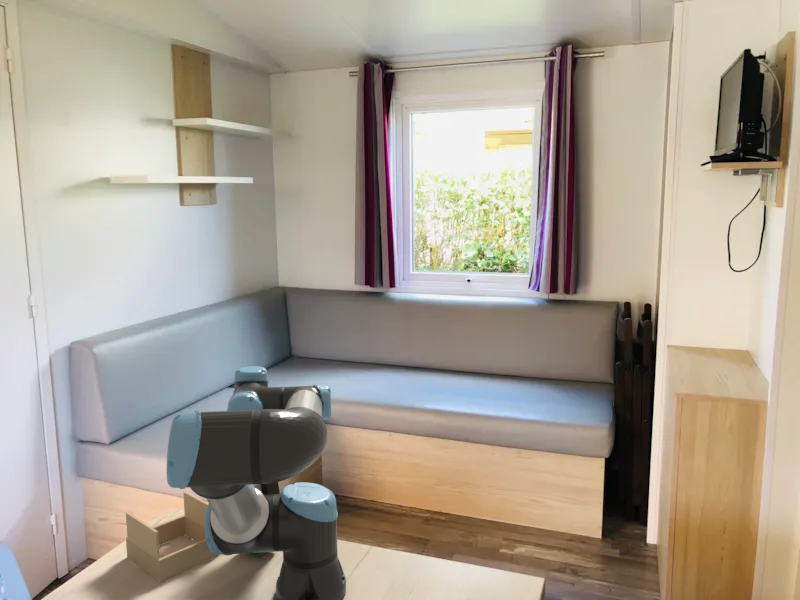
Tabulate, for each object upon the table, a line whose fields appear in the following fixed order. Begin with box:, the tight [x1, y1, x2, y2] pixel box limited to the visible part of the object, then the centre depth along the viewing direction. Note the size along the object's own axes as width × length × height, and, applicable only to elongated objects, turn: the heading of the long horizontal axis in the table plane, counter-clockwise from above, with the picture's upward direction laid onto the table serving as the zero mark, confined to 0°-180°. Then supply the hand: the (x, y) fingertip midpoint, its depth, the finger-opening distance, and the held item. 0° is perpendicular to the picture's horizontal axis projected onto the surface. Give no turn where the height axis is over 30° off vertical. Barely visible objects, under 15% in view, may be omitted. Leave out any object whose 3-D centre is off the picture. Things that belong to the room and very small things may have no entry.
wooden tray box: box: [125, 490, 220, 582], centre depth 155 cm, size 16×16×12 cm
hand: (256, 522), depth 156 cm, fingers closed on soya milk, 9 cm apart
